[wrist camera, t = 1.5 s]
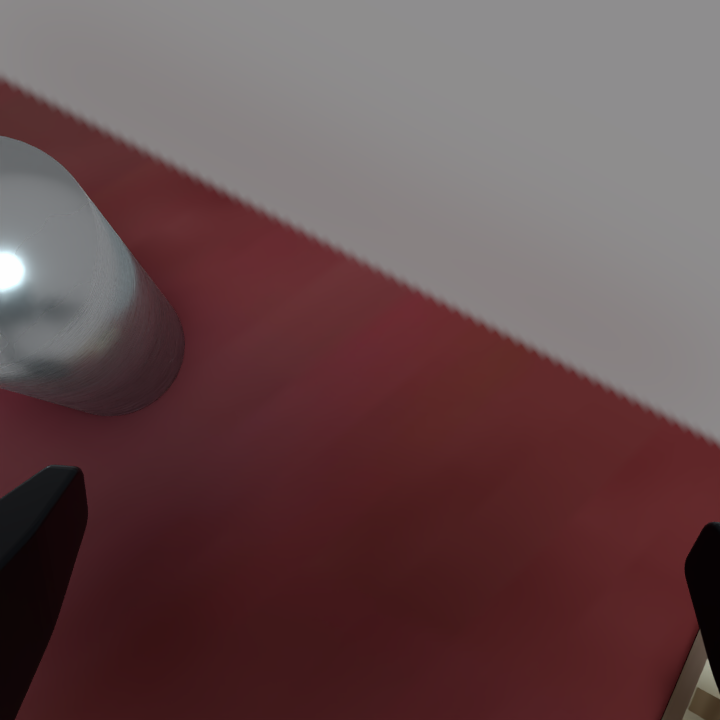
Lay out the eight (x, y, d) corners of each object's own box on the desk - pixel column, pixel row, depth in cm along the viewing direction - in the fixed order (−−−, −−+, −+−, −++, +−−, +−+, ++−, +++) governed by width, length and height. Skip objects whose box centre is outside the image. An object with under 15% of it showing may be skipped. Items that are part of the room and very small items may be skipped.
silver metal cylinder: (98, 445, 23) (-63, 423, 13) (11, 337, 23) (-216, 230, 13) (213, 355, 24) (148, 266, 14) (126, 252, 24) (0, 89, 14)
